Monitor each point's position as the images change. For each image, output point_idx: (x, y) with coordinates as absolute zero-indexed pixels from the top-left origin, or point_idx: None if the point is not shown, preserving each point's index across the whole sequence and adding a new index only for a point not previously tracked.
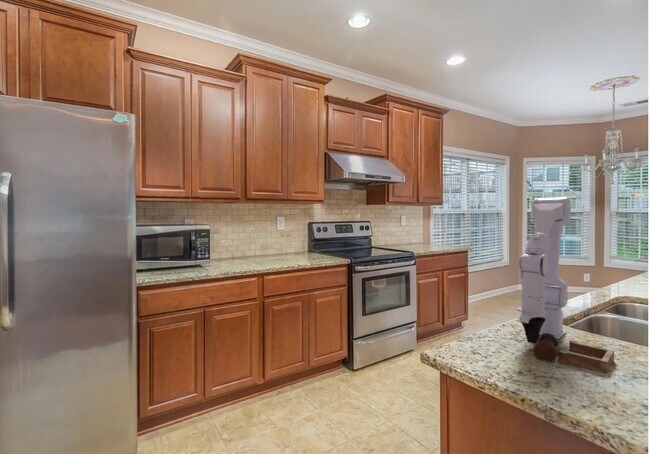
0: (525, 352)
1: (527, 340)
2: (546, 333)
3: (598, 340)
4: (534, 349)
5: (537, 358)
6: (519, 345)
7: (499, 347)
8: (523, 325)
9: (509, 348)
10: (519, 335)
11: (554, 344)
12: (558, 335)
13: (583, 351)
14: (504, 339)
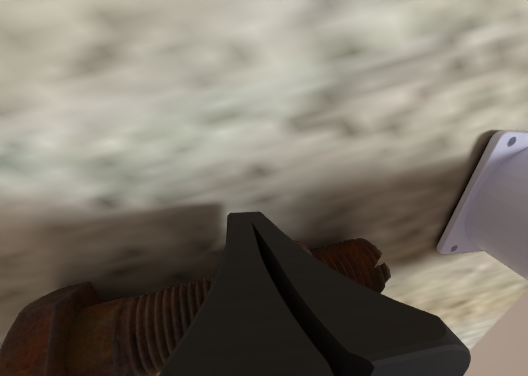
0: (115, 213)
1: (229, 218)
2: (382, 280)
3: (468, 317)
4: (10, 331)
5: (53, 292)
6: (227, 146)
7: (27, 25)
8: (198, 315)
9: (93, 109)
10: (438, 87)
11: None
12: (473, 245)
13: None
14: (293, 9)
